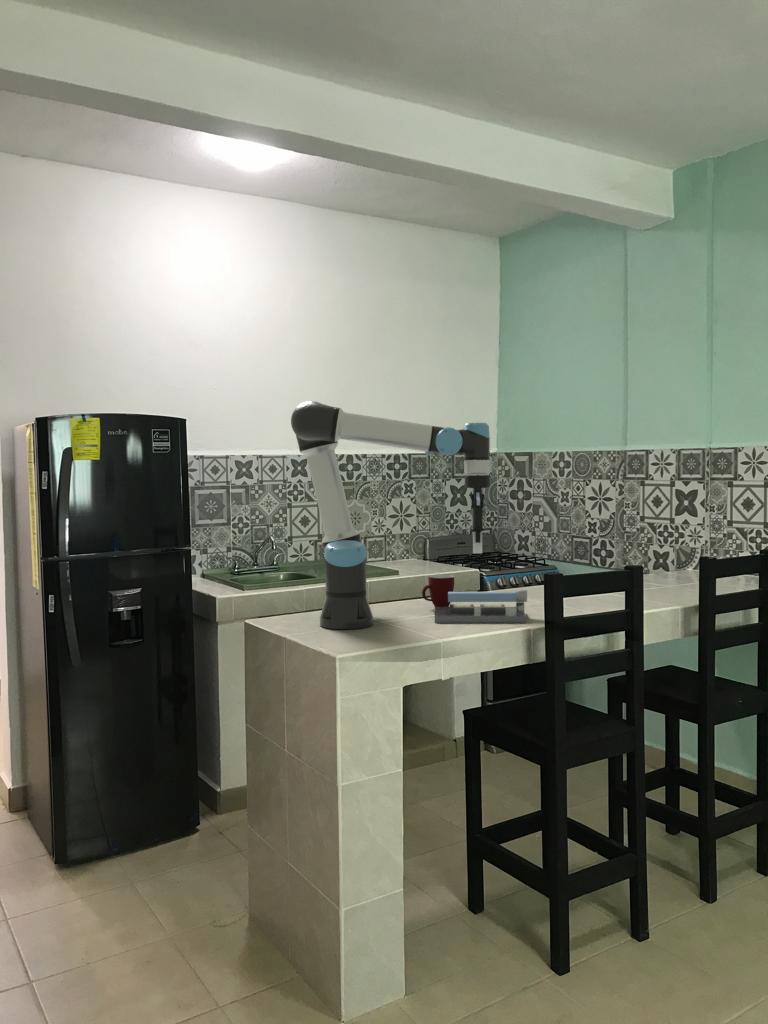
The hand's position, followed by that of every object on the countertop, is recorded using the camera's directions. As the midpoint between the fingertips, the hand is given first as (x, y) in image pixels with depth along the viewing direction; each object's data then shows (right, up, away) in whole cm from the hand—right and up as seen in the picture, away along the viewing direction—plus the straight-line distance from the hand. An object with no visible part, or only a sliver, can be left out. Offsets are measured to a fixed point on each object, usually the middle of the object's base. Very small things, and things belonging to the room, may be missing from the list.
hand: (477, 553), depth 252 cm
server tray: (0, -19, -6) cm, 20 cm away
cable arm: (+2, -14, -6) cm, 15 cm away
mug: (-11, -18, +11) cm, 24 cm away
